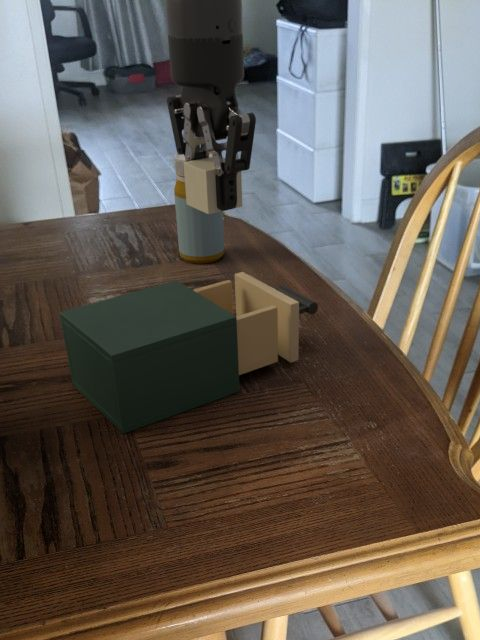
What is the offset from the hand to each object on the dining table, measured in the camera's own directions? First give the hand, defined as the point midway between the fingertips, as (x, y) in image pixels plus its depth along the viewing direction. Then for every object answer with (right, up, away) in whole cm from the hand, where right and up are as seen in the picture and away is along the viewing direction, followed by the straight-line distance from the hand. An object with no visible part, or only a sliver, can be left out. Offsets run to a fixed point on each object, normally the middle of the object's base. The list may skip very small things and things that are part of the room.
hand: (214, 202), depth 88 cm
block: (0, 0, 0) cm, 0 cm away
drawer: (+3, -16, +6) cm, 17 cm away
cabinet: (-7, -21, +1) cm, 22 cm away
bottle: (-4, +3, +34) cm, 34 cm away
